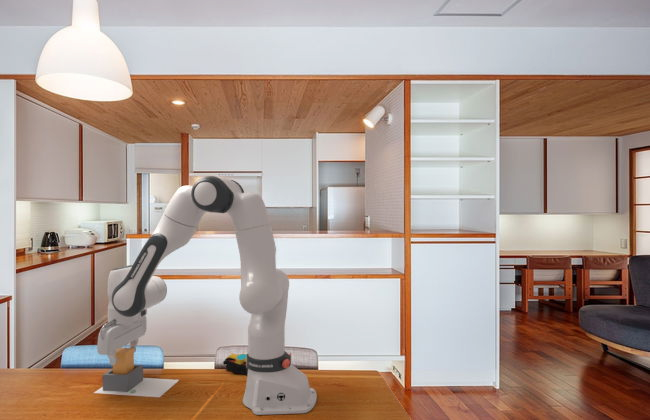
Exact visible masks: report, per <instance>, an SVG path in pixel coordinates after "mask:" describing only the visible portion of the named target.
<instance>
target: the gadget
mask: <svg viewBox="0 0 650 420" xmlns="http://www.w3.org/2000/svg"><path fill="white" fill-rule="evenodd" d="M246 358H247V353H240V354H237V353H233V352H232V353H231V354H229V355H228V356H227V357H226V358H225V359H224V360H223V362H222V364H223V365H225V370H226V371H229V372H231V373H233V374H235V373H236V374H244V375H246V374H247V373H248V372H247V368H246Z"/></svg>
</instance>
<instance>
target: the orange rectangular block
mask: <svg viewBox="0 0 650 420" xmlns="http://www.w3.org/2000/svg"><path fill="white" fill-rule="evenodd" d="M115 356H116V358H118V363H117V364H115V365H112V369H113V374H124V375H126V374H128V373H129V372H131V371H132V370H134V365H135V353H134V348H130V347H122V348H120V349H118V350H116V354H115Z"/></svg>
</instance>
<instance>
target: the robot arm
mask: <svg viewBox="0 0 650 420" xmlns="http://www.w3.org/2000/svg"><path fill="white" fill-rule="evenodd" d="M207 212H208V213H216V214H228V215H229V216H230V218H231V221H232V223H233V228H234V233H235V238H236V242H237V248H238V252H239V259H240V292H239V295H238V296H239V300H238V301H239V303H240V306H241V307H242V309H243V310H244V311H245V312H247V313H249V314H251V315H250V322H249V324H248V328H247V329H248V330H247V351H248V352H247V353H246V354H247V358H246V368H247V372H248V373H247V375H246V384H245V391H244V393H243V394H244V395H243V397H242V404H243V405H244V406H245V407H247V408H249V409H250V410H251V411H252V413H253V414H254V415H259V416H260V415H261V416H262V415H263V416H264V415H287V414H288V415H290V414H307V413H308V412H310V411H311V410H312V409H313V408H314V407H315V405H316V403H317V399H318V396H317V391H316V390H315V388H313V387H310V382H309V378H308V377H307V375H306V374H305V373H304V372H302V371H301V370H300V369H298V367H296V366H294V365H293V364H292V352H289V353H288V352H287V351H286V350H285V347H286V346H285V329H286V328H285V327H286V317H287V311H288V310H287V309H288V301H289V298H288V297H289V291H290V290H289V289H290V278H289V277H288V275H287V273H286V272H284V271H282V270H280V269H278V268H277V264H276V263H277V262H276V260H277V259H276V255H277V254H276V253H277V247H276V242H275V238H274V233H273V229H272V225H271V220H270V216H269V212H268V210H267V207H266V204H265V202H264V200H263V198H262V196H261V195H260V194H258V193H256V192H253V191H252V192H251V191H249V192H248V191H246V192H245V189H244V188H243V187H242V185H241V184H240V183H239V182H237V181H235V180H233V179H229V178H226V177H224V176H215V175H207V176H203V177H201V178H199V179H198V180H197V181H196V182H195V183H194V184H193V185H183V186H180V187H178V189H177V190H176V191H175V193H174V194H173V195H172V197H171V198H170V200H169V201H168V203H167V205H166V207H165V210H164V211H163V214H162V216H161V218H160V220H159V222H158V223H157V225H156V227H155V229H154V230H153V232H152V233H151V235H150V236H149V237H148V240H147V241H145V244H144V245H143V247H141V250H140V252H139V254H138V255H137V256H136V259H135V261H134V262H133V263H132V264H131V265H123V266H119V267H115V268H113V269H112V270H111V271H110V272H109V274H108V278H107V298H108V304H107V305H108V306H107V322H105V323H103V324H102V325H103V326H102V327H101V328H100V330H99V332H98V337H97V346H96V347H97V348H96V350H97V353H98V355H100V356H107V358H108V360H109V365H110V366H113V365H115V364H117V363H118V358H116V356H115V354H116V350H118V349H120V348H124V347H126V345H129V344H130V346H129V348H134V354H135V353H136V352H137V346H138V344H139V338H141V337H144V336H145V334H146V332H147V324H148V323H147V316H146V315H148V310H147V309H149V308H152V307H153V306H156V305H158V304H160V303H161V302H163V301H164V300H165V299H166V296H167V294H168V293H167V292H168V289H167V288H168V287H167V284H166V282H165V280H164V279H163V278H161V277H160V276H157V275H154V274H155V272H156V270H157V269H158V267H159V265H160V263H161V262H162V261H163V260H164V259H165V258H166V257H168V256H170V255H171V254H172V253H174V252H176V251H178V250H179V249H181V248H183V247H185V246H186V245H188V243H189V242H190V240H191V239H192V238H193V236H194V235H195V233H196V232H197V229H198V227H199V224H200V223H201V220H202V218H203V216H204V215H205V214H206V213H207Z"/></svg>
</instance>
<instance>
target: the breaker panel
mask: <svg viewBox="0 0 650 420" xmlns="http://www.w3.org/2000/svg"><path fill="white" fill-rule="evenodd" d="M179 380H180V379H171V378H156V377H155V378H152V377H144V365H141V364H134V370H132V371H131V372H130V373H128V374H127V375H124V374H113V368H111V369H109V370H108V371H106V372H105V373H103V374H102V386H101V387H100V388H99V389H97V390H96V391H94V392H93V394H100V395H101V394H105V395H116V396H117V395H119V396H120V395H121V396H135V397H148V398H161V397H162V396H164V394H165V393H166V392H168V390H170V389H171V388H172V387H173V386H175V385H176V384H177V383H178V382H179Z"/></svg>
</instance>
